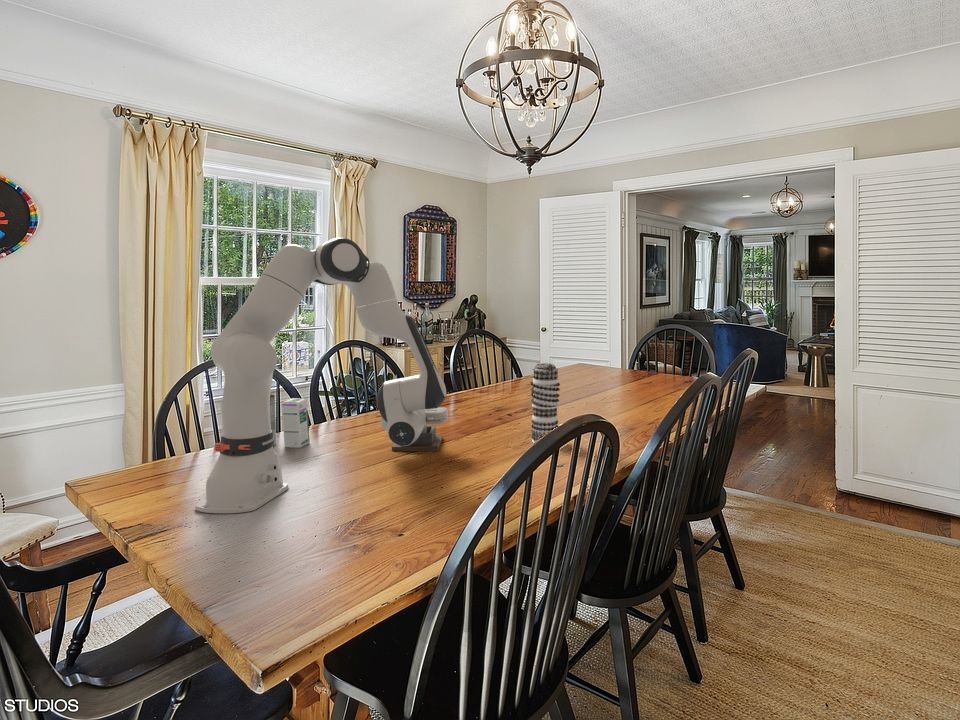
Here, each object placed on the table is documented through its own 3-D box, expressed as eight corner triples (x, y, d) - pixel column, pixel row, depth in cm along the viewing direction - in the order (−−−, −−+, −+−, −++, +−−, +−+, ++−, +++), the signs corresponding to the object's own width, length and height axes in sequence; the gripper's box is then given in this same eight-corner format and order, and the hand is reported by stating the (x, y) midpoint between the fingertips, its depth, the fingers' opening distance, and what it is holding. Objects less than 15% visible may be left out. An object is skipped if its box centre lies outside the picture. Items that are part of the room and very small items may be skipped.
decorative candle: (551, 447, 177) (553, 367, 173) (525, 443, 181) (525, 365, 178) (563, 440, 184) (565, 363, 181) (537, 436, 189) (538, 361, 186)
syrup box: (301, 448, 177) (298, 402, 175) (283, 447, 178) (281, 401, 176) (310, 443, 182) (307, 398, 180) (293, 442, 183) (290, 397, 181)
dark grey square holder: (437, 451, 173) (437, 435, 173) (391, 450, 174) (391, 435, 173) (442, 438, 187) (442, 424, 186) (400, 438, 188) (399, 424, 187)
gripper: (446, 409, 165) (450, 399, 179) (376, 408, 166) (385, 398, 180) (446, 430, 166) (451, 419, 180) (376, 429, 167) (386, 418, 181)
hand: (417, 409), depth 180 cm, fingers open, 8 cm apart
